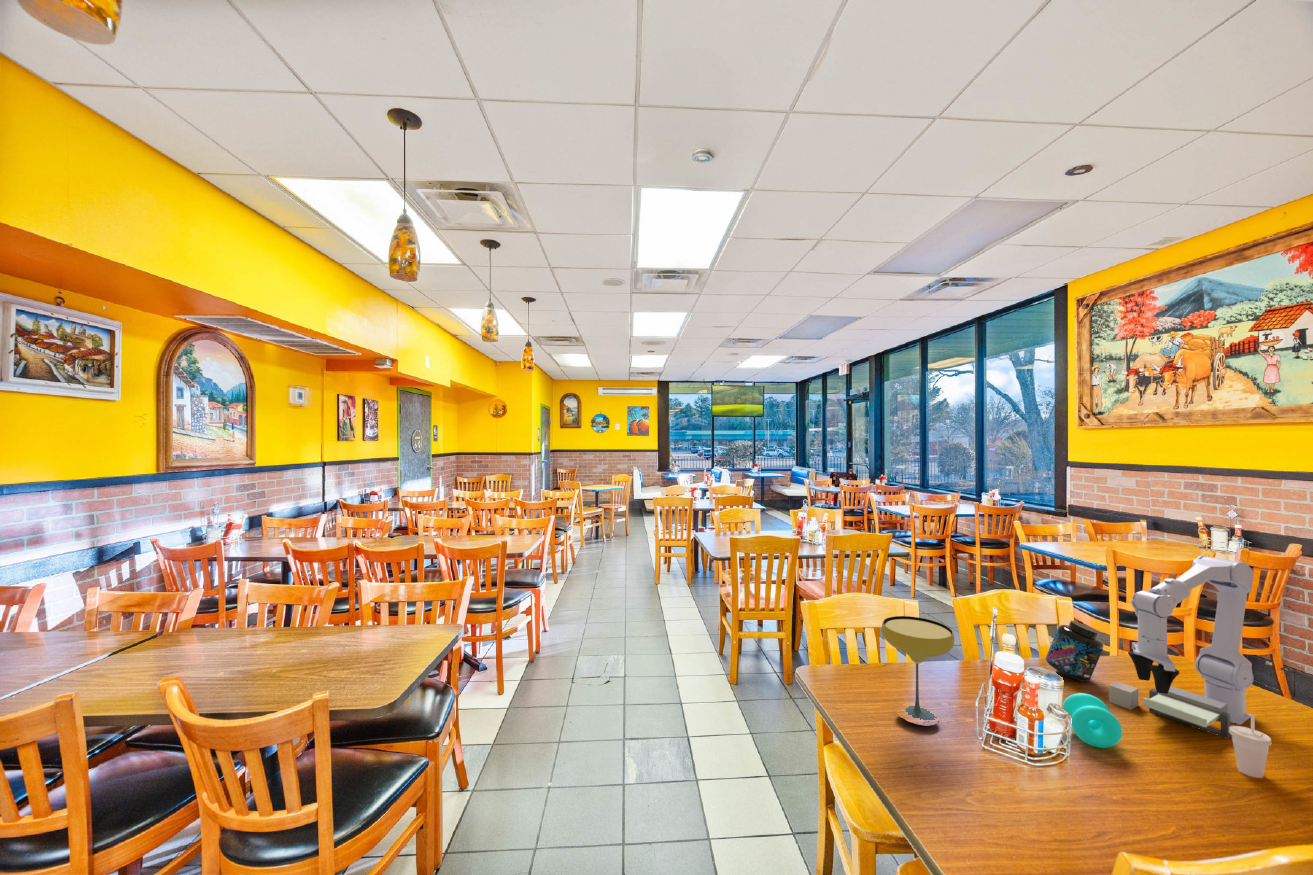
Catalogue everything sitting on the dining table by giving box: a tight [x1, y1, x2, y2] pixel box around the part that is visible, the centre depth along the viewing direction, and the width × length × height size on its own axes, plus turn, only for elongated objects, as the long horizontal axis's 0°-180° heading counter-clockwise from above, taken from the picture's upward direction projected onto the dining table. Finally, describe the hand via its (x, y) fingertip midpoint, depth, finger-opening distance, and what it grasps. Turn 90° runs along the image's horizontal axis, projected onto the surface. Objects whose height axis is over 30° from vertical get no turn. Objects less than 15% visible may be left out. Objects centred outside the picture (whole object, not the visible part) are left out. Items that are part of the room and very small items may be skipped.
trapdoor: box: [1142, 685, 1228, 727], centre depth 136 cm, size 16×12×4 cm
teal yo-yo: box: [1062, 692, 1123, 749], centre depth 130 cm, size 10×10×10 cm
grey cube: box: [1108, 681, 1139, 710], centre depth 148 cm, size 5×5×5 cm
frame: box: [1148, 688, 1232, 739], centre depth 137 cm, size 2×15×6 cm, turn 28°
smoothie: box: [1229, 713, 1273, 779], centre depth 116 cm, size 6×6×14 cm
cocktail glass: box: [881, 615, 955, 722], centre depth 141 cm, size 18×18×25 cm
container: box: [1045, 620, 1104, 682], centre depth 164 cm, size 12×12×17 cm
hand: (1152, 686), depth 138 cm, fingers open, 7 cm apart
